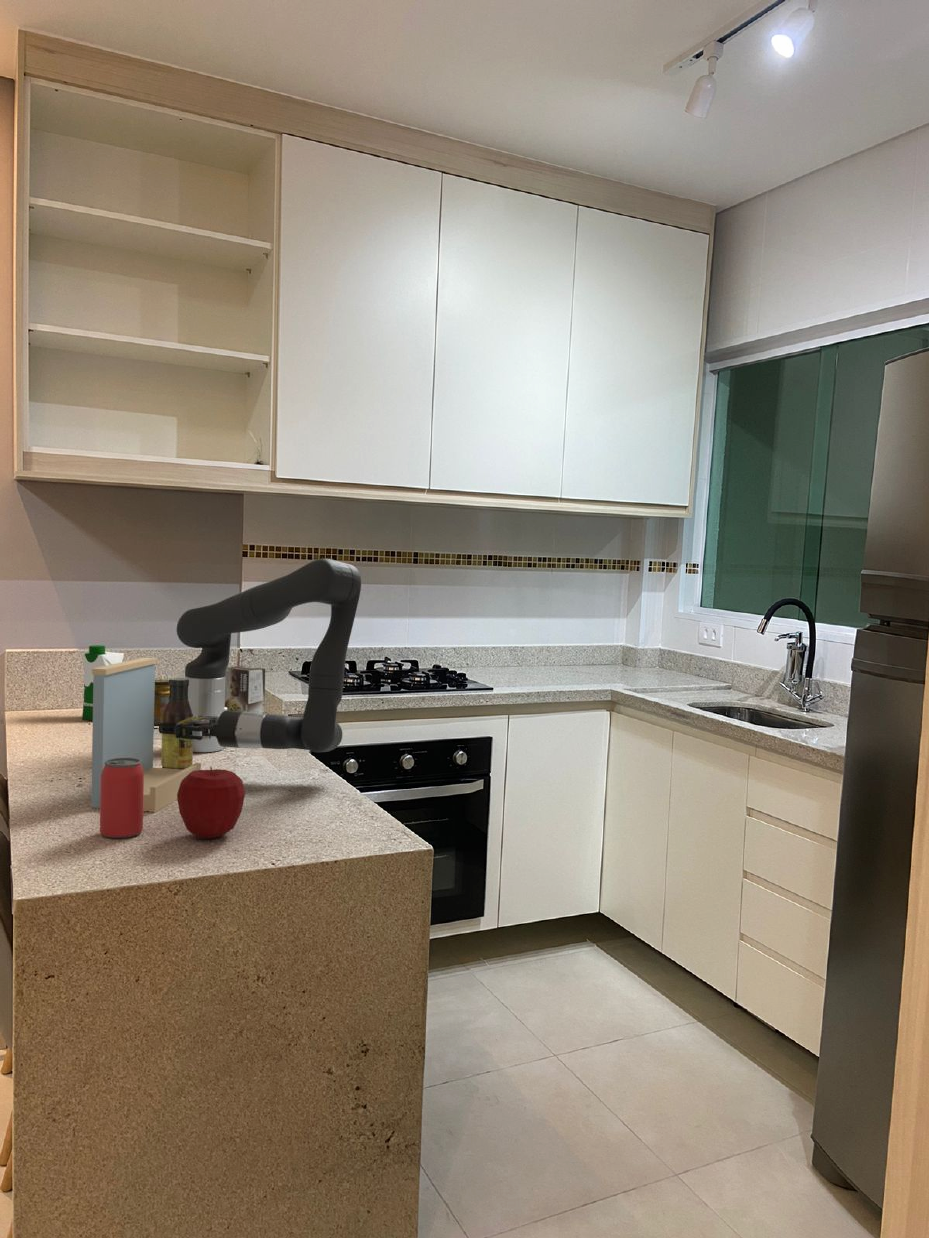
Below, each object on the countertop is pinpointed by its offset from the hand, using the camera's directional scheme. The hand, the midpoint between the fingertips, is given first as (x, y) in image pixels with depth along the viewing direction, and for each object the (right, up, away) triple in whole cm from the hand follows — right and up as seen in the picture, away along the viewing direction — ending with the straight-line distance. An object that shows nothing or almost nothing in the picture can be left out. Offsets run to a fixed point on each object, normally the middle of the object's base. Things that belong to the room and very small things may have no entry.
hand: (167, 725), depth 192 cm
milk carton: (-36, -5, +57) cm, 68 cm away
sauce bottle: (+2, -10, 0) cm, 10 cm away
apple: (+20, -14, -41) cm, 48 cm away
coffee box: (+3, -7, +54) cm, 55 cm away
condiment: (-19, -6, +51) cm, 55 cm away
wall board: (+2, -11, -18) cm, 21 cm away
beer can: (+6, -13, -41) cm, 44 cm away
